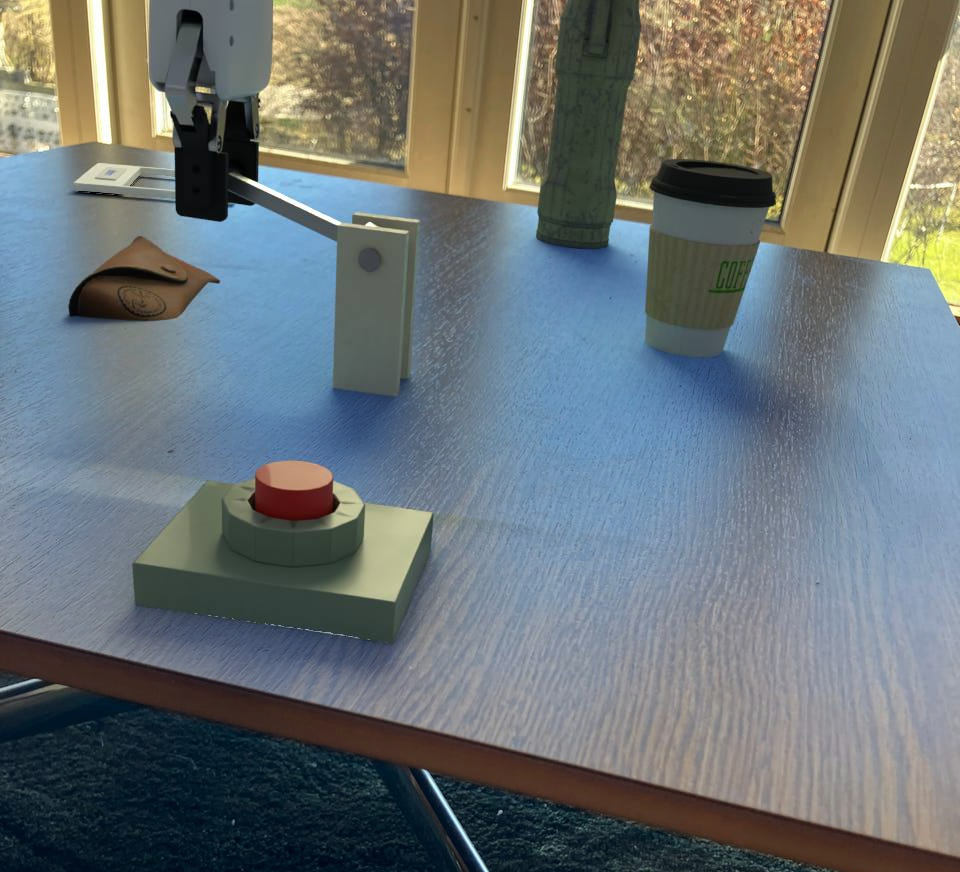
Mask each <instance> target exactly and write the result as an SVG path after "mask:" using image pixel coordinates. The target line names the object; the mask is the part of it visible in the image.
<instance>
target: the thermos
mask: <svg viewBox="0 0 960 872" xmlns="http://www.w3.org/2000/svg"><path fill="white" fill-rule="evenodd" d="M640 1H641V0H566V3H565V6H564V8H563V10H562V12H561V15H560V18H559V28H558V35H557V45H556V54H555V61H554V71H555V76H556V80H557V81H556V91H555V99H554V106H553V107H554V108H553V116H552V123H551V124H552V125H551V134H550V140H549V141H550V142H549V148H548V149H549V151H548V158H547V165H546V166H547V167H546V171H545V173H544V175H543V178H542V181H541V183H540V187H539V194H538V203H537V216H538V221H537V228H536V233H535V237H536V239H538V240H540V241H541V242H544V243H547V244H551V245H555V246H560V247H565V248H574V249H588V250H589V249H602V248H606V247H608V246H609V243H610V238H609V237H610V232H611V226H612V224H613V223H614V219H615V218H614V217H615V211H616V204H617V198H618V193H617V187H616V180H615V178H616V172H617V164H618V158H619V151H620V145H621V139H622V132H623V125H624V118H625V110H626V105H627V97H628V91H629V88H630V86H631V84H632V83H633V81H634V78H635V72H636V66H637V59H638V52H639V45H640V39H641V32H642V20H641V13H640Z"/></svg>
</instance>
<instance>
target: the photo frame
mask: <svg viewBox="0 0 960 872" xmlns="http://www.w3.org/2000/svg"><path fill="white" fill-rule="evenodd" d="M141 173H146V174H154V175H165V176H172V177H175V168H173V169H172V168H162V167H150V166H139V165H127V164H116V163H115V164H114V163H106V162H105V163H104V162H97V163H96V164H95V165H93V166H92V167H91V168H89V170H87V171H86V172H85V173H83V174H82V175H81V176H80V177H79V178H77V179H76V180H75V181H73V191H74V192H78V191H98V192H106V193H107V192H108V193H120V194H132V195H133V194H134V195H144V196H152V197H161V198H160V199H162V198H171V199H170V200H174V199H175V189H167V188H154V187H143V186H133V184H134V183H133V181H134V180H135V179H136V178H137V177H138V176H139V175H140V174H141ZM132 183H133V184H132ZM131 184H132V185H131ZM130 185H131V186H130ZM228 205H235V204H234V203H228Z"/></svg>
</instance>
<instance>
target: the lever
mask: <svg viewBox="0 0 960 872" xmlns="http://www.w3.org/2000/svg"><path fill="white" fill-rule="evenodd" d="M245 173H246V172H245V167H244V165H243V164H242V163H241V162H240V161H239V160H236V159H231V160H228V191H230V192H232V193H235V194H237V195H239V196H241V197H243V198H245V199H247V200H249V201H251V202H254V203H256V204H255V205H257V206H260V207H262V208H264V209H266V210H268V211H270V212H273V213H275V214H277V215H278V216H281V217H282V218H286V219H287V220H289V221H291V222H293V223H296V224H298V225H300V226H302V227H304V228H306V229H309V230H311V231H313V232H315V233H316V234H319V235H321V236H323V237H325V238H327V239H329V240H332V241H334V242H335V243H337V228H338V225H339V224H340V223H342V222H341V221H339V220H336V219H335V218H332V217H331V216H328V215H326V214H324V213H322V212H320V211H317V210H315V209H313V208H312V207H309V206H307V205H305V204H303V203H301V202H299V201H296V200H295V199H292V198H291V197H289V196H286V195H284V194H282V193H280V192H278V191H276V190H274V189H272V188H269V187H267V186H266V185H264V184H261V183H259V182H258V183H257V182H255V181H253V180H250V179H248V178H246V177H245ZM366 226H373V227H379V226H377V225H375V224H373V223H371V222H368V223H367V224H366Z"/></svg>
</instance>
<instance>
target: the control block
mask: <svg viewBox="0 0 960 872" xmlns="http://www.w3.org/2000/svg"><path fill="white" fill-rule="evenodd" d="M434 516H435V514H434V512H432V511H425V510H417V509H411V508H406V507H405V508H404V507H397V506H391V505H390V506H389V505H383V504H376V503H370V502H369V503H368V502H365V501H363V499H362V498H361V497H360V495H359V494H358V493H357V491H356V490H355V489H354V488H353V487H350V486H347V485H345V484H343V483H340V482H338V481H335V480H333V505H332V513H331V514H329V515H326V516H324V517H321V518H319V519H313V520H300V521H290V520H283V519H276V518H270V517H267V516H265V515H263V514H261V513H259V512H257V511H256V509H255V477H252V478H249V479H247V480H244V481H241V482H238V483H231V482H224V481H217V480H210V479H208V480H206V482H204V484H203V485H202V486H200V488H199V489H198V490H197V492H195V494H194V495H193V496H192V497H191V498H190V499H189V500H188V501H187V502H186V503H185V504H184V506H183V507H182V508H181V509H180V510H179V511H178V513H176V514H175V516H173V518H172V519H170V521H169V522H168V523H167V524H166V525H165V526H164V528H163V529H162V530H161V531H160V532H159V533H158V534H157V535H156V536H155V538H153V540H152V541H150V543H149V544H148V545H147V546H146V547H145V549H143V551H141V553H140V554H139V555H138V556H137V557H136V558H135V559H134V561H132V565H131V566H132V580H133V593H134V594H133V595H134V596H133V597H134V605H135V606H137V605H141V606H140V607H144V606H147V607H146V608H150V607H153V608H152V609H157V608H160V609H159V610H163V611H170V610H172V611H171V612H177V611H179V612H178V613H183V612H186V613H185V614H190V613H192V614H191V615H195V614H194V613H197V614H204V615H207V616H206V617H209V616H208V615H211V616H218V617H221V618H220V619H222V617H225V618H228V619H227V620H229V619H232V618H233V619H235V620H234V621H236V620H242V621H250V622H252V623H251V624H255V623H254V622H256V623H260V624H259V625H262V624H265V623H266V624H268V625H271V624H274V625H276V626H278V625H281V626H284V627H293V628H295V629H297V628H301V629H303V630H305V629H309V630H313V631H322V632H331V633H333V634H343V635H345V636H346V635H347V636H353V637H358V638H360V639H366V640H365V641H367V639H370V640H373V641H376V642H375V643H380V642H387V643H390V644H389V645H393V644H394V643H395V641H396V638H397V635H398V632H399V631H400V628H401V626H402V623H403V620H404V619H405V615H406V613H407V610H408V608H409V606H410V603H411V600H412V598H413V596H414V592H415V590H416V588H417V585H418V583H419V581H420V578H421V576H422V573H423V571H424V568H425V565H426V563H427V561H428V558H429V555H430V553H431V551H432V550H431V549H432V540H433V539H432V538H433V527H434ZM164 609H166V610H164ZM242 621H241V622H242ZM268 625H267V626H268ZM295 629H294V630H295ZM360 639H359V640H360ZM373 641H372V642H373ZM379 641H380V642H379Z"/></svg>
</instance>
